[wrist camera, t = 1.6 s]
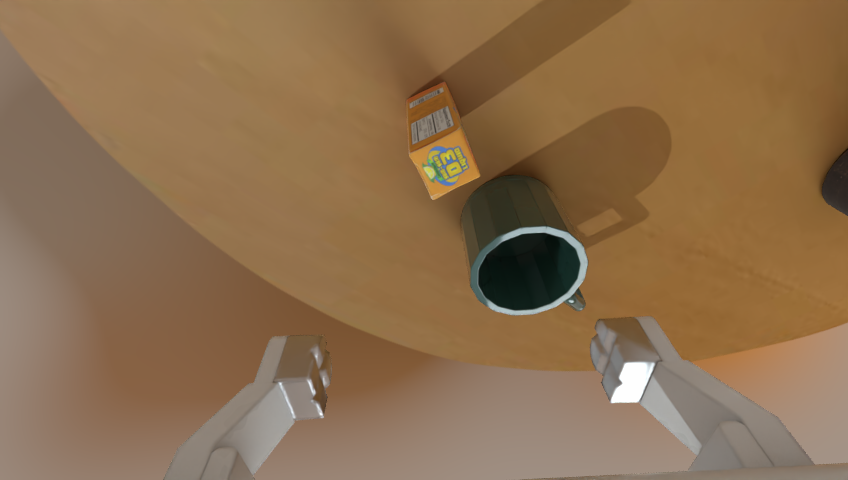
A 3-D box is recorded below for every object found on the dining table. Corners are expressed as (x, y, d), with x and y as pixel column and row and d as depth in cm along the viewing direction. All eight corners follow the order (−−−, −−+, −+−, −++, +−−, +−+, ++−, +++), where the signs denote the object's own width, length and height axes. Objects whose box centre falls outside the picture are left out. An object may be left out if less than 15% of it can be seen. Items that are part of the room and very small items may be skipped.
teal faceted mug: (440, 222, 36) (446, 279, 30) (513, 154, 32) (536, 203, 26) (526, 286, 40) (546, 347, 34) (598, 233, 37) (635, 291, 31)
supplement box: (465, 118, 30) (484, 181, 22) (423, 137, 31) (427, 205, 23) (448, 76, 29) (461, 128, 20) (403, 97, 29) (399, 156, 21)
